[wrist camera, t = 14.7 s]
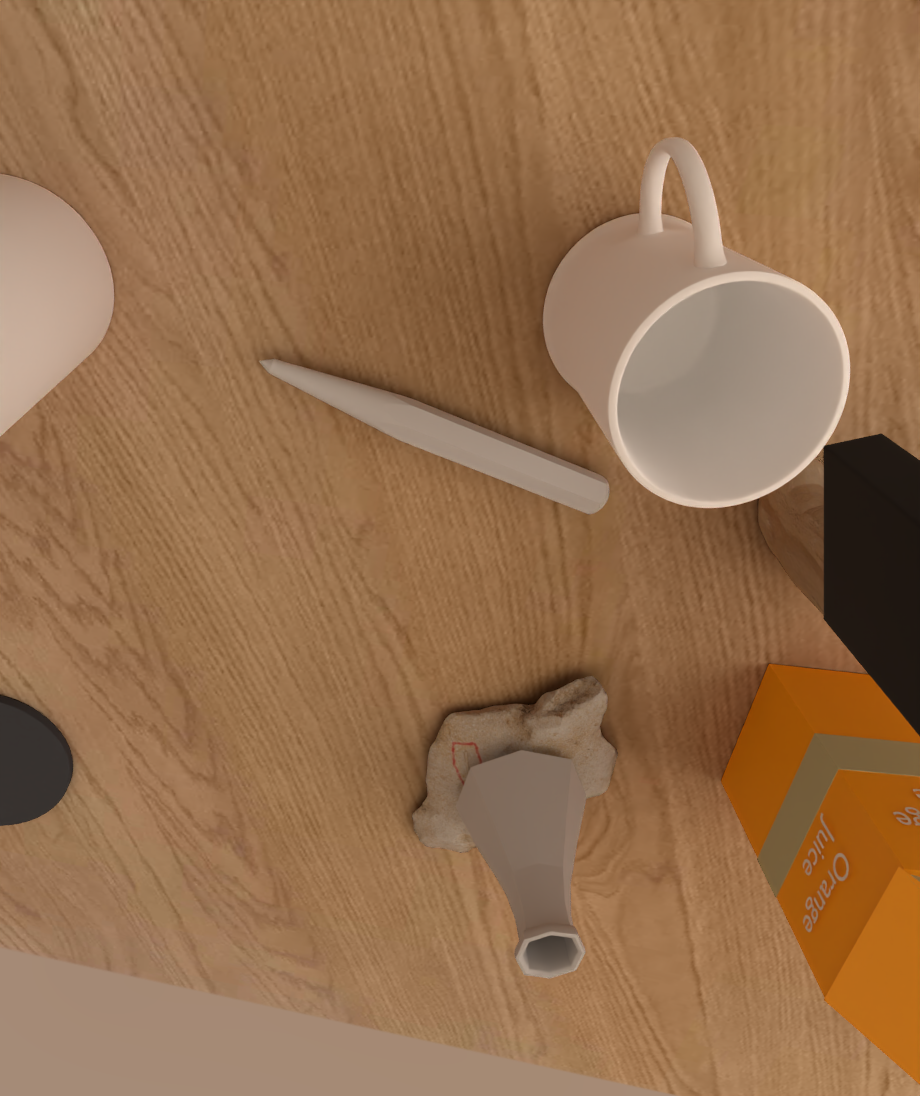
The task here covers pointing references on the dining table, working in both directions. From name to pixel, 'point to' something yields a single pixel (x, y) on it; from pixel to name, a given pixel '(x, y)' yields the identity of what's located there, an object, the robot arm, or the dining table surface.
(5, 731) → the slate coaster
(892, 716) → the orange juice
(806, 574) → the figurine
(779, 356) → the mug
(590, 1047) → the dining table surface
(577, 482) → the tool
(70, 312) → the cup
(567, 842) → the flask
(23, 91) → the dining table surface
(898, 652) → the robot arm
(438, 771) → the stone
